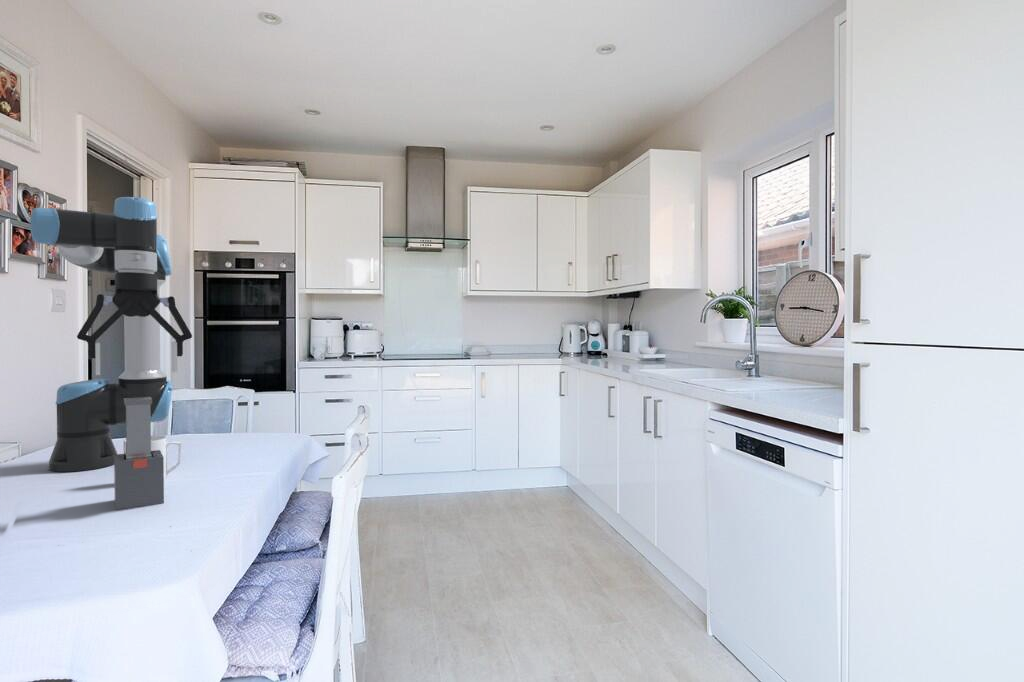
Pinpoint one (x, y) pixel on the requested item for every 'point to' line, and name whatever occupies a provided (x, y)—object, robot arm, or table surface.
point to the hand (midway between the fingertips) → (137, 373)
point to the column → (138, 427)
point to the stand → (138, 481)
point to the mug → (162, 450)
